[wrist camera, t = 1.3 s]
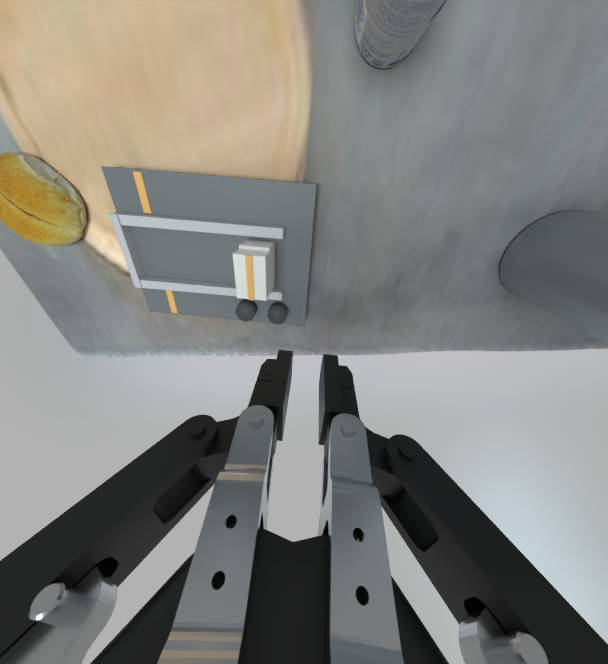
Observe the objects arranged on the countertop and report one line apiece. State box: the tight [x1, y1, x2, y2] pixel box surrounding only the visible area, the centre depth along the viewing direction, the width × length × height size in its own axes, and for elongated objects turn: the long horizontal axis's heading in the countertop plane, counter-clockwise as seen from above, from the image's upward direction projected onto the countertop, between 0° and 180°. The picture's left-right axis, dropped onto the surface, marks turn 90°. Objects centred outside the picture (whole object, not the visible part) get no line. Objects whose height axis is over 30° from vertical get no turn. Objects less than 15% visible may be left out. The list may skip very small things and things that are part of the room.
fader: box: [233, 239, 275, 301], centre depth 24 cm, size 3×5×5 cm, turn 176°
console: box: [101, 166, 317, 326], centre depth 27 cm, size 21×16×4 cm
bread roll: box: [0, 153, 87, 246], centre depth 25 cm, size 8×9×4 cm
